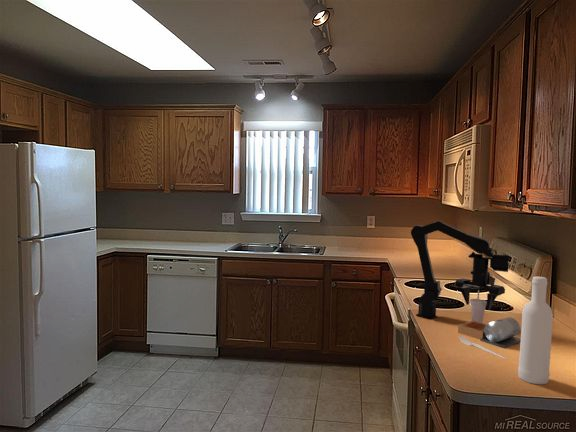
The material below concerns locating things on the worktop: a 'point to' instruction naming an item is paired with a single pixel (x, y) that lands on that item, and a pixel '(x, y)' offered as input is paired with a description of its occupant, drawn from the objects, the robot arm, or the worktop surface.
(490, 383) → the worktop surface
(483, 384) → the worktop surface
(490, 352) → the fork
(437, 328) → the worktop surface
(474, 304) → the white cup with straw
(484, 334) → the motor unit
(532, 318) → the bottle
